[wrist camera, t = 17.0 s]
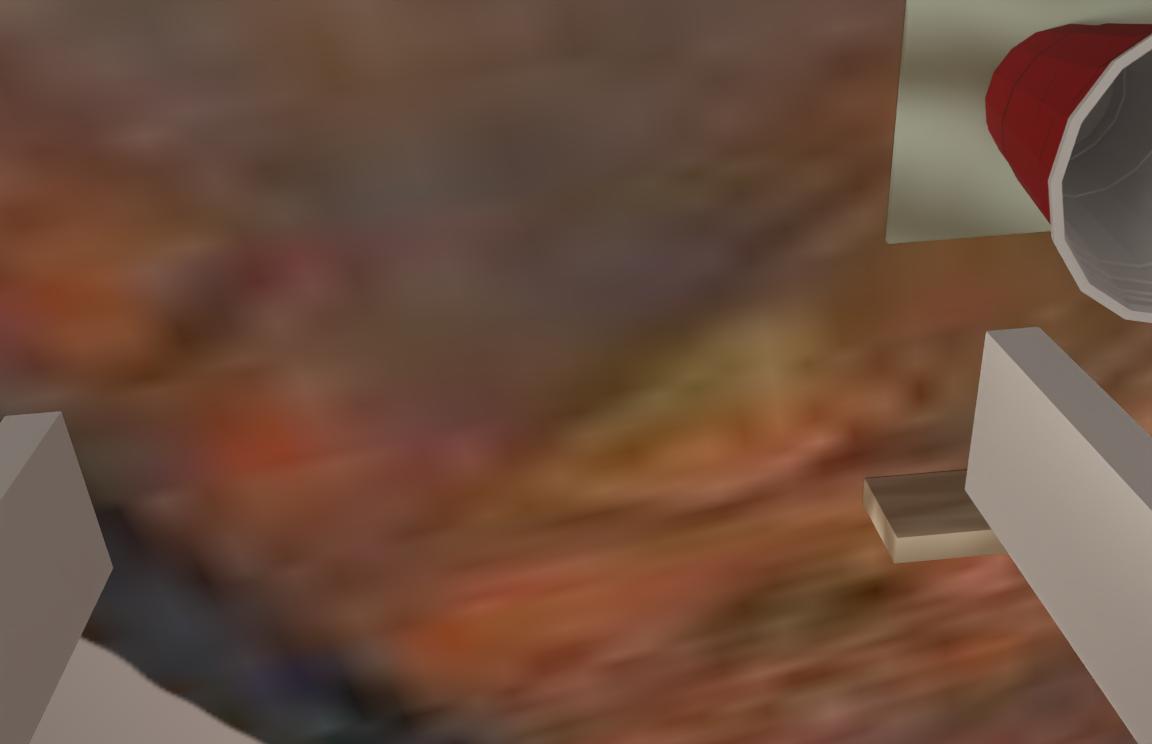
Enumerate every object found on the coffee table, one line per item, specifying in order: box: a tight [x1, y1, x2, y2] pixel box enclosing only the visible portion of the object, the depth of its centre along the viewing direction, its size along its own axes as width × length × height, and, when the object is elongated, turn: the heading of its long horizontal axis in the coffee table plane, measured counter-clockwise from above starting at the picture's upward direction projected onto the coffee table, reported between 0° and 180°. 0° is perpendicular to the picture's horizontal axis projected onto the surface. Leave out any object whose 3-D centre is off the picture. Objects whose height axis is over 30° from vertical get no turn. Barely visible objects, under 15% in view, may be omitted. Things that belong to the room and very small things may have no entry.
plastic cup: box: [985, 23, 1152, 323], centre depth 41 cm, size 11×11×12 cm
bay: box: [863, 0, 1152, 563], centre depth 47 cm, size 30×13×5 cm, turn 3°
